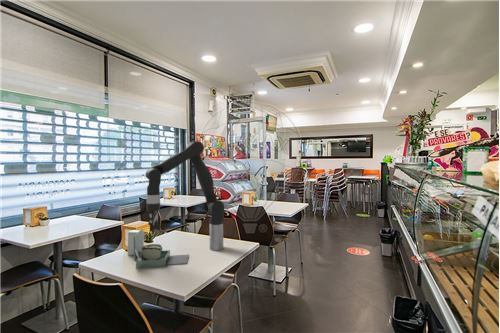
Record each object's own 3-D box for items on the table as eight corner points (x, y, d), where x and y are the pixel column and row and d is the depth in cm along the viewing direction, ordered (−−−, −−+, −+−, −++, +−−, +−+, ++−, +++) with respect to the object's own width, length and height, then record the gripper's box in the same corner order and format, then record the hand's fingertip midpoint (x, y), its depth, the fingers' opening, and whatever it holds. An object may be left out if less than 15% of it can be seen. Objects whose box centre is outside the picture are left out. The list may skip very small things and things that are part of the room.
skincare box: (127, 255, 167) (127, 232, 167) (131, 252, 173) (131, 229, 173) (140, 255, 167) (140, 232, 167) (144, 252, 173) (143, 229, 173)
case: (170, 256, 164) (169, 228, 164) (165, 266, 148) (165, 235, 148) (141, 258, 162) (141, 229, 162) (133, 268, 146) (133, 236, 146)
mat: (188, 255, 166) (188, 254, 166) (186, 264, 152) (186, 263, 152) (170, 256, 164) (170, 255, 164) (167, 265, 150) (167, 264, 150)
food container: (166, 260, 158) (166, 244, 158) (161, 264, 152) (161, 247, 151) (146, 259, 159) (146, 243, 159) (141, 263, 153) (141, 246, 153)
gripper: (157, 204, 148) (157, 232, 148) (162, 200, 162) (162, 226, 163) (143, 204, 147) (143, 233, 147) (149, 200, 161) (149, 226, 162)
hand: (153, 229), depth 155 cm, fingers open, 8 cm apart
